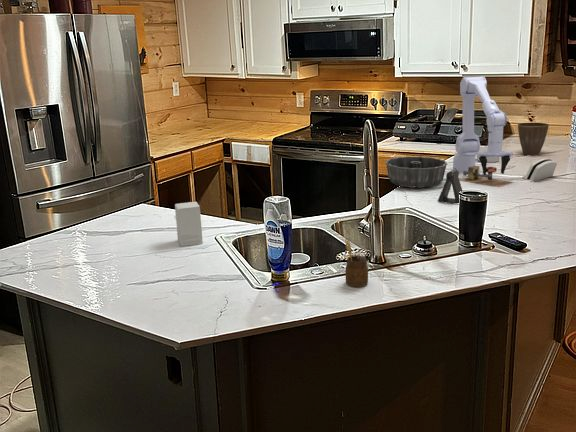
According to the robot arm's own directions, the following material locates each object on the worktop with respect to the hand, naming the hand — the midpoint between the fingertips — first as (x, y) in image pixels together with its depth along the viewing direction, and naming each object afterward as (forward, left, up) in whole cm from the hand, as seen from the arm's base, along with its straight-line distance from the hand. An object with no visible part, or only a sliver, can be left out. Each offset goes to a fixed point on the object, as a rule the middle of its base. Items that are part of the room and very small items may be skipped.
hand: (493, 173), depth 261 cm
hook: (-7, 0, -3) cm, 7 cm away
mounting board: (-4, 0, -5) cm, 6 cm away
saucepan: (-29, +48, -5) cm, 56 cm away
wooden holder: (-10, 0, -4) cm, 10 cm away
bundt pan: (-26, -20, -5) cm, 33 cm away
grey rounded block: (+9, +23, -5) cm, 25 cm away
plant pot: (-20, +71, -5) cm, 74 cm away
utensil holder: (+31, -122, -5) cm, 126 cm away
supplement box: (-32, -133, -5) cm, 137 cm away
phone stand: (+3, -35, -5) cm, 35 cm away
